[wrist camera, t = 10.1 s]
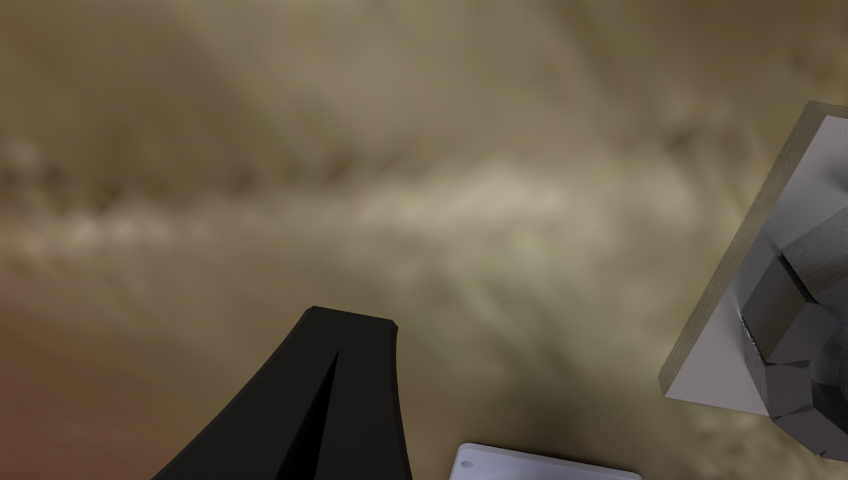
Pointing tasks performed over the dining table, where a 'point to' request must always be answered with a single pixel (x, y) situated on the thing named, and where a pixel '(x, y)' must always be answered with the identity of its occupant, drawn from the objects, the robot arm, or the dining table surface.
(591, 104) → the dining table surface
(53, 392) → the dining table surface
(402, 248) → the dining table surface
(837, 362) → the dark grey round knob
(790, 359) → the barrel stand
